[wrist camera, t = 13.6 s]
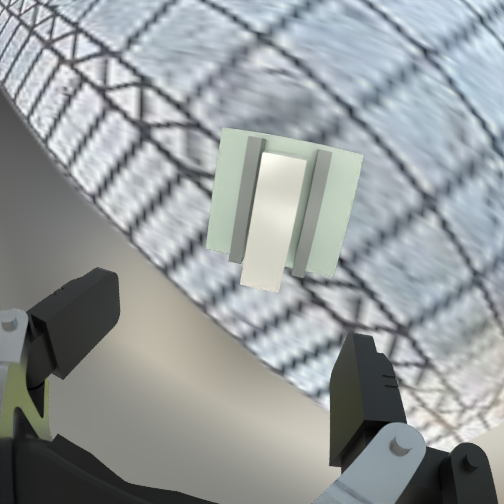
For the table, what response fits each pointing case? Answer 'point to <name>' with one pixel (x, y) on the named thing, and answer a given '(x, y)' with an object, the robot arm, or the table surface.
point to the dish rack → (309, 206)
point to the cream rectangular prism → (272, 219)
